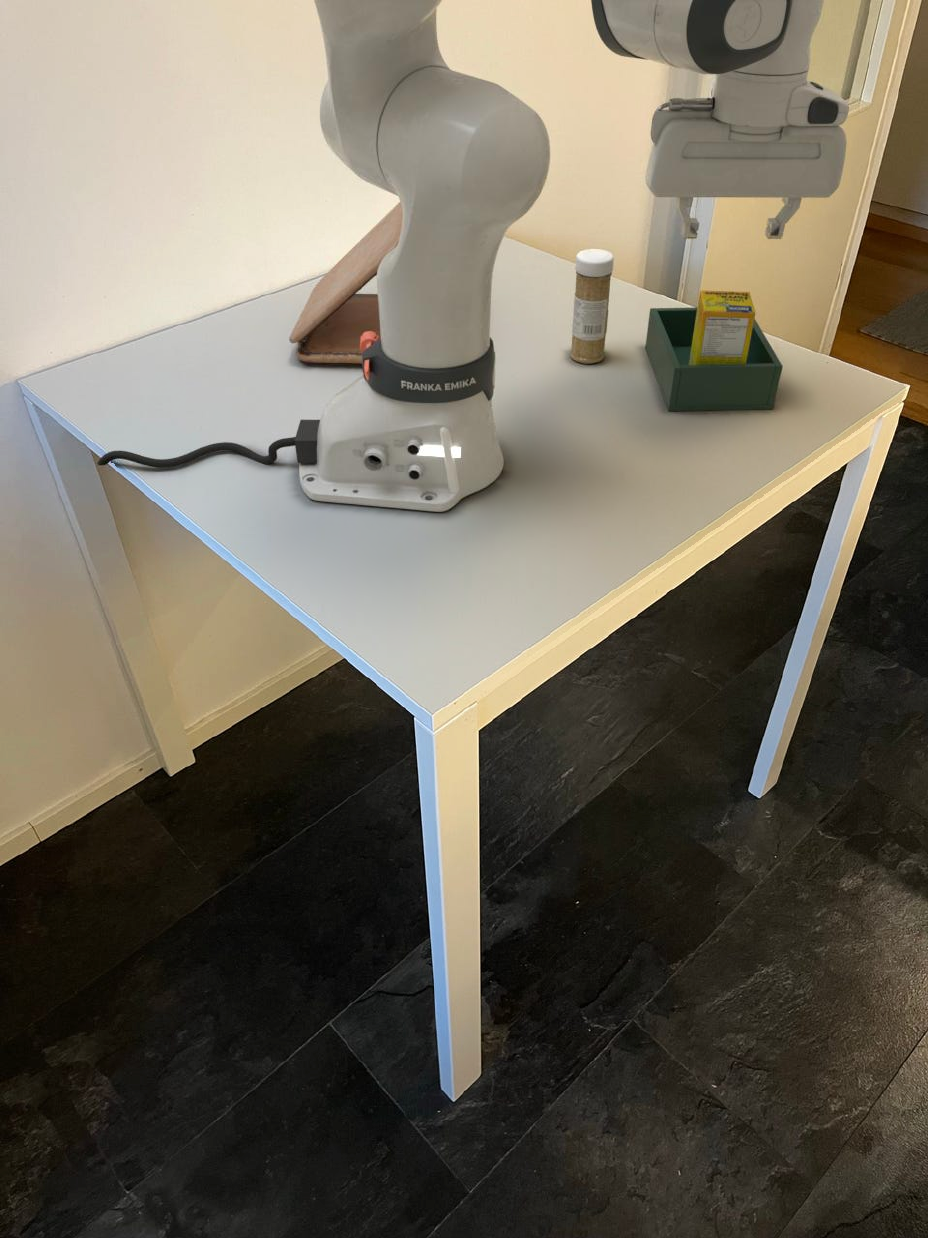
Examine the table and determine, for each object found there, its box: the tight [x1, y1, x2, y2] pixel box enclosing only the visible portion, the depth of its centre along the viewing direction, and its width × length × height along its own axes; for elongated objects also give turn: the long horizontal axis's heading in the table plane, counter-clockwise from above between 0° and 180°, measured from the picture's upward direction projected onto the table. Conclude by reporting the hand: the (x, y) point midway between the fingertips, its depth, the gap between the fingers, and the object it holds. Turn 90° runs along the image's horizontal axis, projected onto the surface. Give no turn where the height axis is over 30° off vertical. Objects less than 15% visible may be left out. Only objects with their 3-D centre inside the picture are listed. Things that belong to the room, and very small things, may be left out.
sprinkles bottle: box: [569, 248, 614, 365], centre depth 121 cm, size 5×5×13 cm
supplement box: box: [689, 290, 756, 365], centre depth 114 cm, size 6×6×11 cm
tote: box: [644, 306, 784, 412], centre depth 119 cm, size 13×17×6 cm
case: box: [288, 201, 403, 364], centre depth 126 cm, size 20×21×16 cm
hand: (730, 237), depth 106 cm, fingers open, 8 cm apart
